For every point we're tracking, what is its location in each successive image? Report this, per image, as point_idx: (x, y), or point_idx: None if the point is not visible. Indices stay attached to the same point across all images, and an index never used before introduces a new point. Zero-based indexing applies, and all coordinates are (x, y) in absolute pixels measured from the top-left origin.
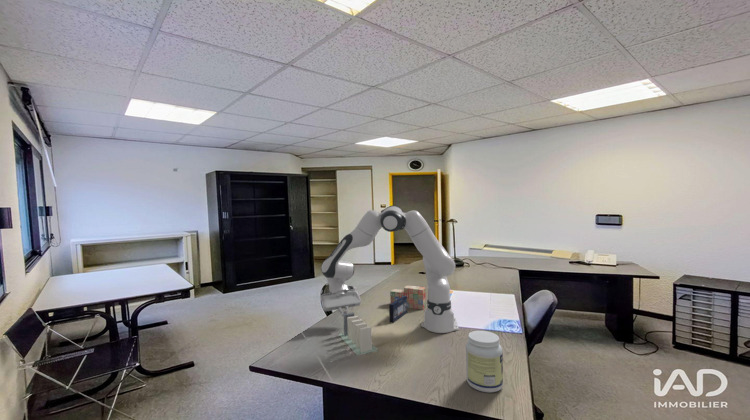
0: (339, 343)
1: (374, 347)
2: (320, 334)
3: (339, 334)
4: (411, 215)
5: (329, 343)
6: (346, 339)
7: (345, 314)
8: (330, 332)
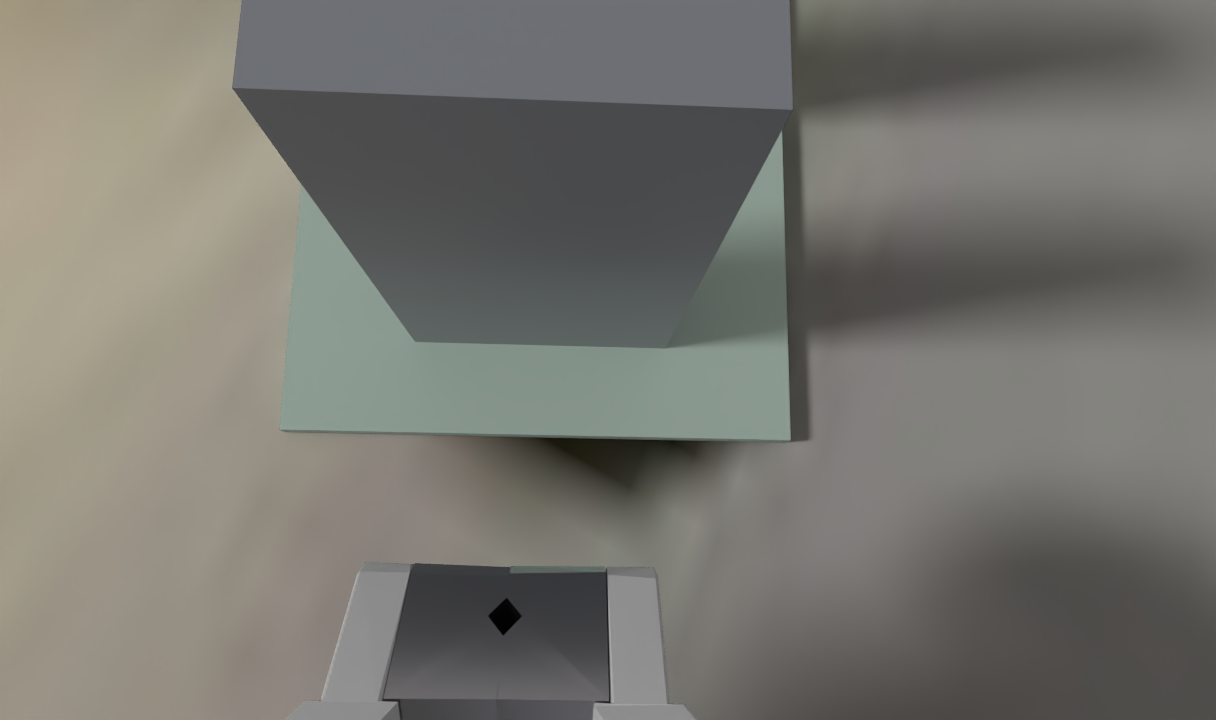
0: (884, 36)
1: None
2: (1170, 705)
3: (764, 409)
4: None
5: (1070, 134)
6: None
7: (715, 37)
8: (911, 702)
